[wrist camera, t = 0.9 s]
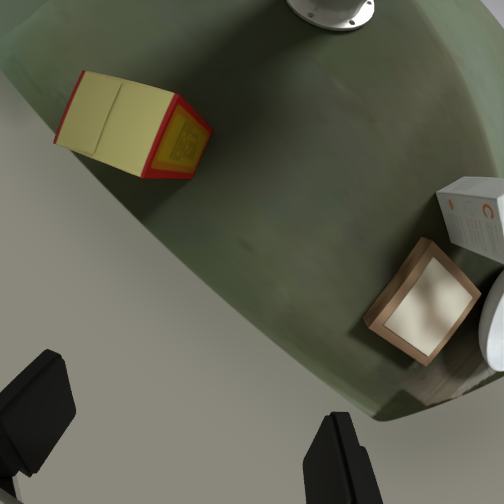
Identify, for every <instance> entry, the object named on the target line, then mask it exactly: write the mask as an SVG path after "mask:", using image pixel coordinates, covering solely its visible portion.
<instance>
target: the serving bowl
mask: <svg viewBox="0 0 504 504" xmlns="http://www.w3.org/2000/svg"><path fill="white" fill-rule="evenodd" d="M479 345H480V349H481V352H482V355H483V357H484V359H485V361H486V362H487V364H488V365H489V366H490V368H492V369H493V370H495V371H504V270H503V271H502V272H501V274H500V275H499V276H498V278H497V279H496V281H495V282H494V284H493V286H492V287H491V289H490V291H489V293H488V295H487V298H486V300H485V303H484V306H483V309H482V313H481V317H480V322H479Z"/></svg>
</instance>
